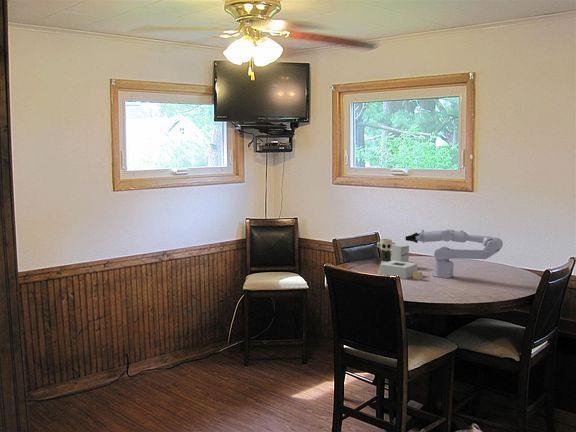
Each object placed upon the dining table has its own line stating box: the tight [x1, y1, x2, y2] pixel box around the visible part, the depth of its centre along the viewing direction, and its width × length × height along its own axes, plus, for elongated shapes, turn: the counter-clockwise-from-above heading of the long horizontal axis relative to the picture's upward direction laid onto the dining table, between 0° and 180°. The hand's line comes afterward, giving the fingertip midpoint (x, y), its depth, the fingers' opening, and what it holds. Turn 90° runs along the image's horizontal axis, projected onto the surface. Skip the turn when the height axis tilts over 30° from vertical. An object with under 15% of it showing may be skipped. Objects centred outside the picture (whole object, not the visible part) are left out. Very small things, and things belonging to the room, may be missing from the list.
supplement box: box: [390, 243, 410, 262], centre depth 366 cm, size 7×7×13 cm
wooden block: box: [412, 270, 423, 281], centre depth 332 cm, size 4×3×4 cm
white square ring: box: [379, 260, 418, 280], centre depth 343 cm, size 15×15×6 cm
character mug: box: [376, 238, 396, 261], centre depth 384 cm, size 11×7×13 cm, turn 87°
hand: (408, 238), depth 349 cm, fingers open, 7 cm apart
